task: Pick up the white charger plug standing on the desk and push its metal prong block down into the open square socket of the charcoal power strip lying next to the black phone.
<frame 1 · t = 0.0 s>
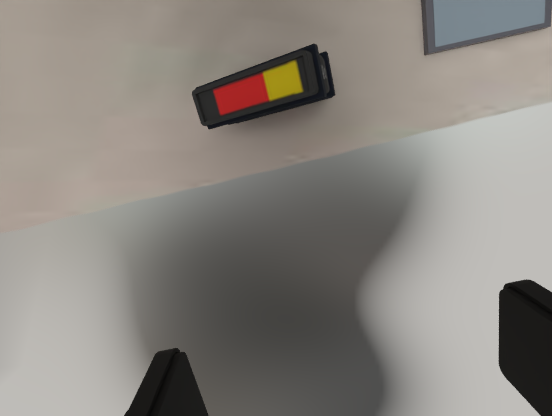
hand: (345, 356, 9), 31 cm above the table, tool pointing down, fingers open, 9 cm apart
phone: (483, 8, 34), on the table
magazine: (269, 98, 36), on the table
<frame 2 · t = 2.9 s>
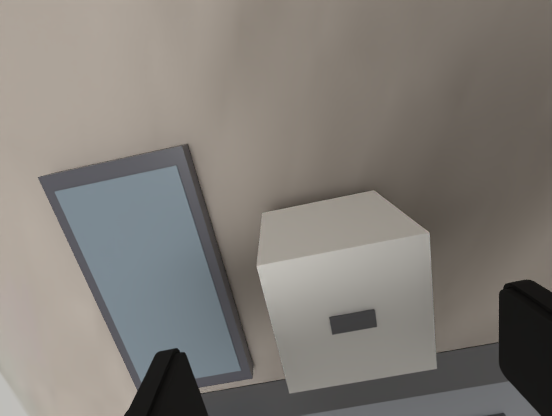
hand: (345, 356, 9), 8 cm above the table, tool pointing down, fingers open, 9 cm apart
phone: (164, 281, 17), on the table
charger plug: (319, 233, 16), on the table
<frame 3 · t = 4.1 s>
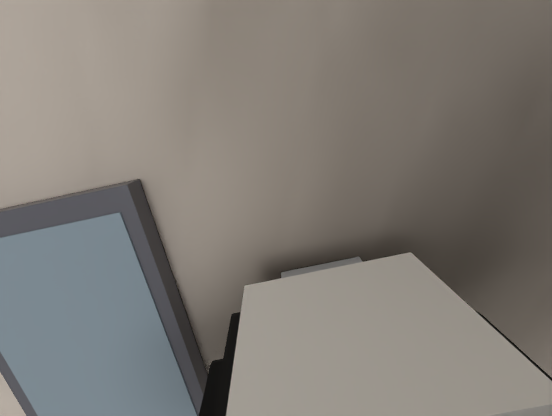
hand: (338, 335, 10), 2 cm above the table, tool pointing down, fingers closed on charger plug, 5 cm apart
phone: (114, 361, 12), on the table
charger plug: (326, 298, 12), on the table, touching gripper
when the fingers open (3 cm above the table, at t = 8.3 s): charger plug stays where it is, resting on power strip.
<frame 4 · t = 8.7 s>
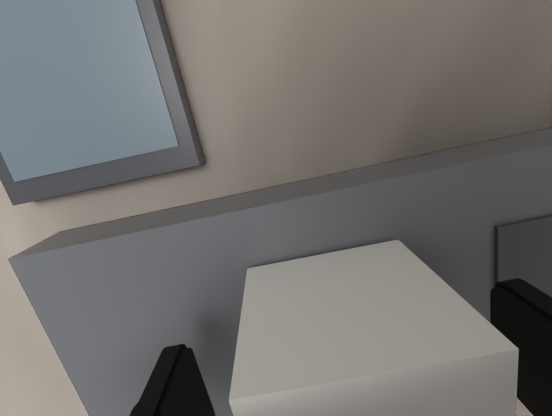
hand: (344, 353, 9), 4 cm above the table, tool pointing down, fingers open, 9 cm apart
power strip: (387, 265, 13), on the table
charger plug: (321, 284, 12), resting on power strip
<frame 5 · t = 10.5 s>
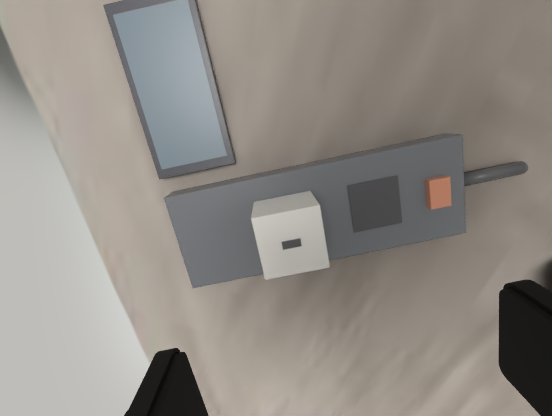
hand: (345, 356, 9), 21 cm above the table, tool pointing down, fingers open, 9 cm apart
phone: (176, 90, 26), on the table
power strip: (315, 208, 29), on the table
charger plug: (285, 215, 28), resting on power strip
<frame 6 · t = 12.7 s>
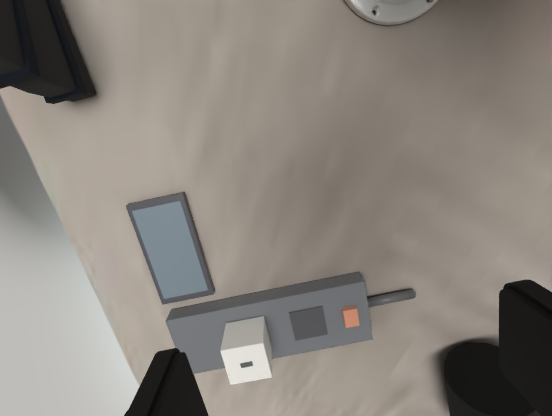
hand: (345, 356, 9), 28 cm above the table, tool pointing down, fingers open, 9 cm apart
phone: (174, 249, 38), on the table
power strip: (271, 318, 41), on the table
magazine: (59, 34, 31), on the table
charger plug: (250, 324, 41), resting on power strip
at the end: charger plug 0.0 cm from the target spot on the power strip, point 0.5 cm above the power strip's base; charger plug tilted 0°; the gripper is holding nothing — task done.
